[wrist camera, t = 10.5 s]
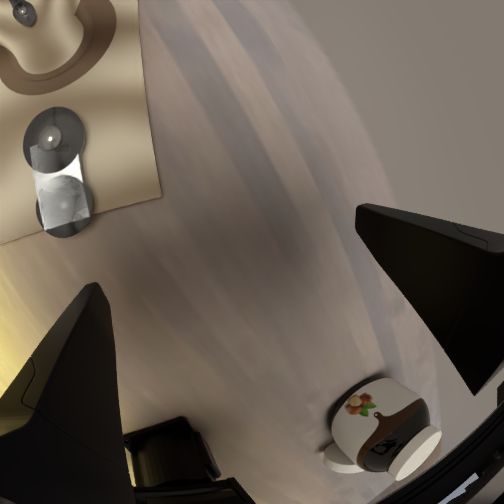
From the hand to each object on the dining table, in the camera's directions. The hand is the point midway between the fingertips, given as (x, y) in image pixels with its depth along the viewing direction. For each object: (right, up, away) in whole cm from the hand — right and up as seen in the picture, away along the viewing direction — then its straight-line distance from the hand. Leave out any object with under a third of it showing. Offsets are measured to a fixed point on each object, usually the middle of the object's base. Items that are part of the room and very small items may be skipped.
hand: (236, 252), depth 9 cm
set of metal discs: (-13, +14, +3) cm, 20 cm away
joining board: (-13, +14, +3) cm, 20 cm away
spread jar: (+13, -20, +22) cm, 33 cm away
